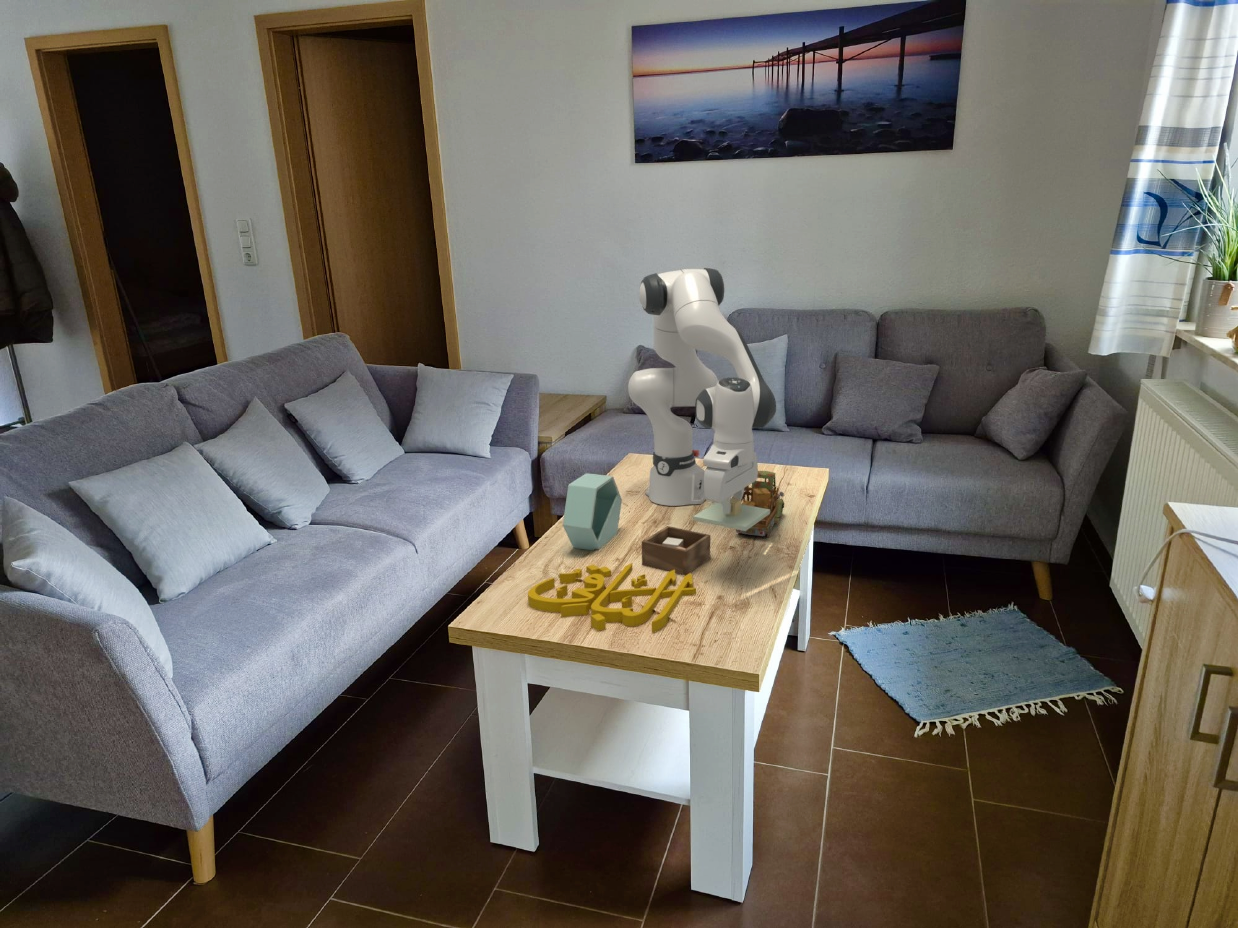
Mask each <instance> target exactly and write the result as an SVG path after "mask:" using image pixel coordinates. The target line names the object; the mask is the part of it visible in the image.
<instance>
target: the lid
mask: <svg viewBox="0 0 1238 928" xmlns="http://www.w3.org/2000/svg"><path fill="white" fill-rule="evenodd" d="M730 503H731V505H733V508H732V510H733V511H732V512H731V513H730V514H725V513H723V506H722V503H714V502H713V503H712V504H711V505H709V506H707V507H706V508H704V509H703V510H700V512H698V513H696V514H695V515H693V516H692V520H693V521H694V522H698V523H705V524H709V525H713V526H719V527H723V528H728V529H734V530H735V529H737V530H742V531H746V530H748V529H749V528H751V527H752V526H753V525H755V524H756V523H758V522H759V521H760V520H762V519H763V518H765V517H766V516H767V515H769V514H770V509H765V508H759V507H754V506H748V505H743V504H742V501H741V500H740V499H735V498H732V497H731V500H730Z"/></svg>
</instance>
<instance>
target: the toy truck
mask: <svg viewBox="0 0 1238 928" xmlns="http://www.w3.org/2000/svg"><path fill="white" fill-rule="evenodd" d="M758 478H759V479H763V481H759V480H756V481H755V482H753V483H751V487H749V486H750V485H748V486H747V487H745V488H744V493H743V496H742V499H741V504H743V505H748V506H754V507H759V508H765V509H770V514H769V515H767V516H766V517H765V518H763V519H762V520H760V521H759V522H758V523H756V524H755V525H753V526H752V527H751V528H749V529H748V530H746V531H742V530H737V529H734V530H735V532H736V533H737V534H738V535H740V536H745V535H751V536H760V537H762V538H763V539H764V538H765V539H768V538H769V537H770V533H771V530H772V528H773V526H774V525H775V524H778V522H780V520H781V517H782V515H783V510H784V508H785V501H784V499H783V498H781V497H784V496H785V493H784V492H783V491H780V490H779V487H777V484H776V472H773V471H769V470H758V476H757V479H758ZM733 496H734V495H732V496H731V498H733Z"/></svg>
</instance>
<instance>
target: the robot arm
mask: <svg viewBox="0 0 1238 928" xmlns="http://www.w3.org/2000/svg"><path fill="white" fill-rule="evenodd" d="M725 291H726V287H725V282H724V279H723V275H722V274H721V272H720V271H719V270H718V269H715V268H708V267H704V268H684V269H683V268H682V269H679V270H678V269H677V270H671V271H666V272H661V273H657V272H655V273H651V274H648V275H646V276H645V277H643V279H642V280H641V282H640V287H639V291H638V295H639V297H638V298H639V301H640V304H641V306H642V309H643V311H645V312H646V313H647V314H649V315H650V316H651V315H652V316H653V349H654V351H655V353H656V355H658V356H659V357H660V358H661V359H662V360H664V361H667V362H668V363H670V364H672V365H673V366H674V367H659V368H658V367H656V368H654V367H653V368H644V369H641V370H636V371H635V372H633V374H632V375H631V376H630V378H629V379H628V385H627V391H628V395H629V398H630V399H631V401H632V402H633V403H634V404H635V405H636V406H638V407H639V408H640V409H642V411H643V412H644V413H645V414H646V416H647V417H648V419H649V421H650V423H651V426H652V430H653V443H654V444H653V445H654V450H653V452H652V465H653V466H652V467H651V468H650V469H649V479H648V489H645V495H647V496H648V498H649V499H648V500H649V501H650V502H652V503H653V504H654V503H655V504H657V505H661V506H669V507H673V506H674V507H675V506H676V507H678V506H688V505H702V504H703V503H704V502H705V501H707V502H710V503H713V504H714V503H722V506H723V513H725V514H730V513H731V512H732V511H733V510H732V508H733V505H731V503H730V500H731V498H732V496H733V498H735V499H740V500H741V499H742V496H743V493H744V492H745V491H744V488H745V487H747V486H748V485H749V486H750V485H752V483H753V482H755V481H757V479H758V478H757V476H758V471H759V469H758V467H759V466H758V465H759V464H758V454H757V452H755V446H754V434H753V428H765V426H767V425H768V424H769V423H770V422H771V421H772V419H774V416H775V415H776V413H777V402H776V398H775V395H774V393H773V391H772V389H771V388H770V386H769V385H768V384H767V382H766V381H765V379H764V377H763V375H762V373H761V371H760V369H759V367H758V364H757V362H756V360H755V358H754V356H753V354H752V352H751V350H750V347H749V346H748V343H747V342H746V339H745V338H744V335H743V334H742V332H741V331H740V330H739V329H738V328H736V327H734V326H733V325H732V324H730V323H729V322H728V320H727V319H726V318H725V316H724V315H723V314H722V312H721V309H720V305H721V303H723V301H724V298H725ZM697 350H698V351H702V352H706V353H710V354H714V355H717V356H720V357H722V358H724V359H726V360H727V361H728V362H729V363H731V365H732V367H733V369H734V372H736V373H735V374H736V376H737V377H735V376H733V377H732V376H731V377H729V376H728V377H723V378H721V379H718V377H717V375H716V374H715V372H714V371H713V370H712V369H710V368H709V367H707V366H706V365H705V364H704V363H703V362H702V361H701V359H700V358H699V356H698V353H697ZM673 407H695V411H694V413H695V419H696V421H697V422H698V423H699V424H700V425H701V426H702V427H704V428H706V429H712V430H714V434H713V439H712V440H713V441H712V442H713V444H712V445H711V447H710V448H709V450H708V452H707V453H706V454H705V455H704V456H703V459H702V464H703V467H706V468H705V469H703V468H702V467H701V466H700V465H698V464H697V463H696V462H697V460H696V458H698V457H699V456H700V451H699V450H697V449H693V428H692V425H691V424H690V423H689V421H687V420H686V419H684V418H682V417H679V416H678V415H676V414H674V413H673V412H672V411H671V408H673Z"/></svg>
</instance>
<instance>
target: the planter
mask: <svg viewBox="0 0 1238 928" xmlns="http://www.w3.org/2000/svg"><path fill="white" fill-rule="evenodd" d="M616 483H617V482H616V480H615V477H614V476H613V475H604V474H596V473H588V472H586V473H584V474H583V475H581V476H579V477H578V478H577V479H575V480H573V481H571V483H569V484H568V485H567V491H566V492H567V494H566V499H565V500H566V501H565V506H564V514H563V519H562V527H563V529H564V532H565V533H566V536H567V538H568V540H569V542H570V543H571V546H572V548H573V549H580V550H586V551H595V550H600V549H602V548H603V547H604V546H605V545H606V544H607V543H609V542H610V541H611V540H612V539H613V538H614V537H616V536H617V535H618V531H619V530H618V529H619V523H620V515H621V510H622V509H621V508H622V503H623V500H622V497H621V494H620V491H619V489H618V488H619V487H618V486H617V484H616Z"/></svg>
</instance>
